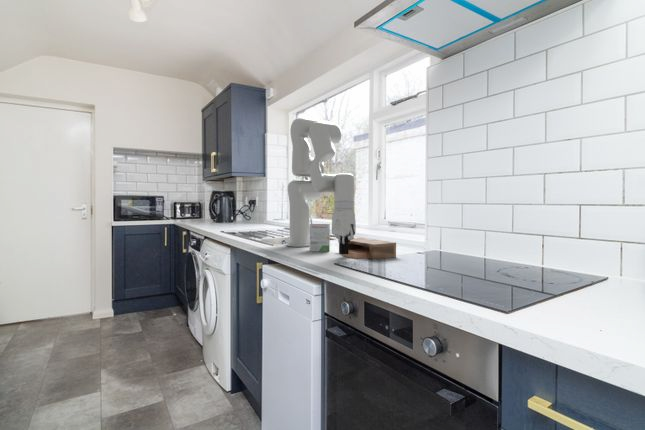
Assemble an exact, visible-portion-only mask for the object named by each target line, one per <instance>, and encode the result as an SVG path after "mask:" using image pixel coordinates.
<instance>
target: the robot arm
mask: <svg viewBox="0 0 645 430" xmlns="http://www.w3.org/2000/svg"><path fill="white" fill-rule="evenodd" d="M289 131H290V139H291V145H292V152H291V173H292V175H293V176H295V177H298V178H299V177H301V178H310V179H293V180H291V181H290V182H289V183H288V184H287V195H288V202H289V205H288V206H289V237H288V238H287V239H288V240H289V241H288V242H286V243H285V244H286V245H285V246H288V247H293V248H295V247H296V248H300V247H301V248H302V247H309V238H310V207H309V205H308V203H307V202H306V201H307V200H308V201H309V200H313V201H316V200H320V199H321V198H322V196H323V194H334V195H333V196H334V200H333V201H334V202H333V204H334V205H333V206H334V209H333V210H332V211H333V212H332V218H331V219H332V220H331V234H332V235H333V236H334V238H336V239H337V240H338V241H337V242H338V252H339V255H342V254H348V251H349V243H350V240H352V239H354V238H355V237H354V236H355V235H356V232H357V231H356V230H357V229H356V228H357V227H356V214H355V175H353V174H352V173H344V172H343V173H335V174H332V173H331V174H330V173H325V164H324V163H325V162H328V161H330V160H331V159H333V158H334V156H335V155H336V150H335V149H336V148H335V146H334V144H338V143H340V141H342V138H343V137H342V136H343V133H342V129H341V127H340V125H338V124H336V123H333V122H331V121H327V120H319V119H315V118H314V119H313V118H307V117H306V118H305V117H300V118H299V117H297V118H295V119H293V121H292V123H291V125H290V130H289ZM307 138H308V139H310V141H311V144H312V148H313V152H314V155H315V156H314V157H311V145H310V143H309V141H308V139H307ZM339 243H340V244H339Z"/></svg>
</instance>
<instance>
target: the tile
mask: <svg viewBox="0 0 645 430" xmlns="http://www.w3.org/2000/svg"><path fill="white" fill-rule="evenodd" d="M367 253H370V248H367V249H356V250H349V251H348V254H341V256H343V257H347V258H352V259H355V260H358V259H368V258H367Z"/></svg>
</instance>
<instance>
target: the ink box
mask: <svg viewBox="0 0 645 430" xmlns="http://www.w3.org/2000/svg"><path fill="white" fill-rule="evenodd" d="M330 239H331V224H330V223H309V246H308V249H309V250H308V251H309V252H322V253H323V252H326V253H329V252H330V247H331V246H330V245H331V244H330V243H331V240H330Z"/></svg>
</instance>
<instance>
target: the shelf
mask: <svg viewBox="0 0 645 430" xmlns="http://www.w3.org/2000/svg"><path fill="white" fill-rule="evenodd" d="M339 244H340V243H339V242H338V245H339ZM367 248H370V253H367V258H366V259H370V260H373V259H376V260H383V258H385V259H392V258H391V257H394V258H397V242H396V241H395V242H393V241H388V240H379V239H373V238H365V237H354V239H352V240H350V243H349V250H356V249H367Z"/></svg>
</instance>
